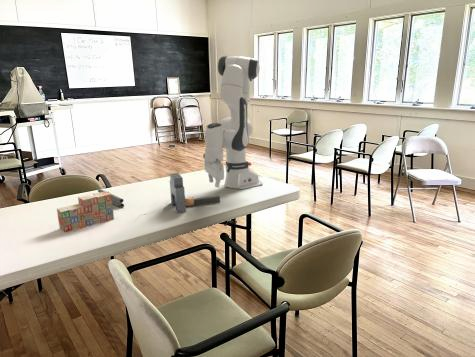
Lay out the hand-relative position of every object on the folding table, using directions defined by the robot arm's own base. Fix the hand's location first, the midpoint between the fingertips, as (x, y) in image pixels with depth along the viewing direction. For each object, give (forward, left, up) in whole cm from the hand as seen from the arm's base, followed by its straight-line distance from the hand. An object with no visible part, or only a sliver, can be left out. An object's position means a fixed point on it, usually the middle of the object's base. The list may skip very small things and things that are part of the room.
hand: (214, 184), depth 176 cm
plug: (+6, -1, -9) cm, 11 cm away
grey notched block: (+19, -1, -9) cm, 21 cm away
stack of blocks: (+59, +4, -10) cm, 60 cm away
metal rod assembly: (+49, -24, -10) cm, 55 cm away
